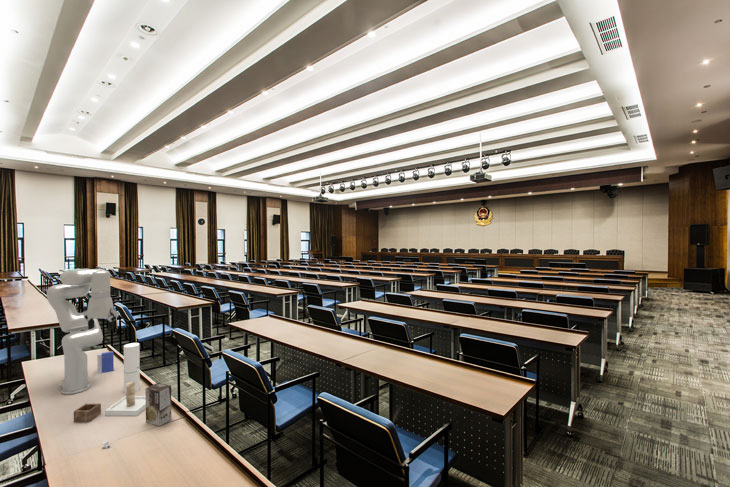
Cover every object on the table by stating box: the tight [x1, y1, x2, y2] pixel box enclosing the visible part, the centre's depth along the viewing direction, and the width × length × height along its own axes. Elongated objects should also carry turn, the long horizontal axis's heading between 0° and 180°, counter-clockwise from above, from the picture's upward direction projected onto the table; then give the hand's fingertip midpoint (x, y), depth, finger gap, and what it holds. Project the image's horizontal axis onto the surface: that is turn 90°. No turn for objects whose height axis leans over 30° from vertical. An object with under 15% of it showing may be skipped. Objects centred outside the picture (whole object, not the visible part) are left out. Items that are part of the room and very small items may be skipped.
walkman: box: [96, 350, 115, 375], centre depth 207 cm, size 8×3×12 cm, turn 127°
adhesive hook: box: [101, 439, 112, 450], centre depth 137 cm, size 3×3×3 cm
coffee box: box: [144, 382, 172, 427], centre depth 156 cm, size 9×6×16 cm
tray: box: [104, 395, 146, 417], centre depth 167 cm, size 15×14×2 cm
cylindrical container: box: [123, 342, 141, 393], centre depth 185 cm, size 7×7×25 cm
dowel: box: [125, 382, 136, 407], centre depth 166 cm, size 3×3×11 cm
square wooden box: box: [73, 403, 102, 423], centre depth 157 cm, size 7×7×5 cm
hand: (101, 328), depth 170 cm, fingers open, 9 cm apart
